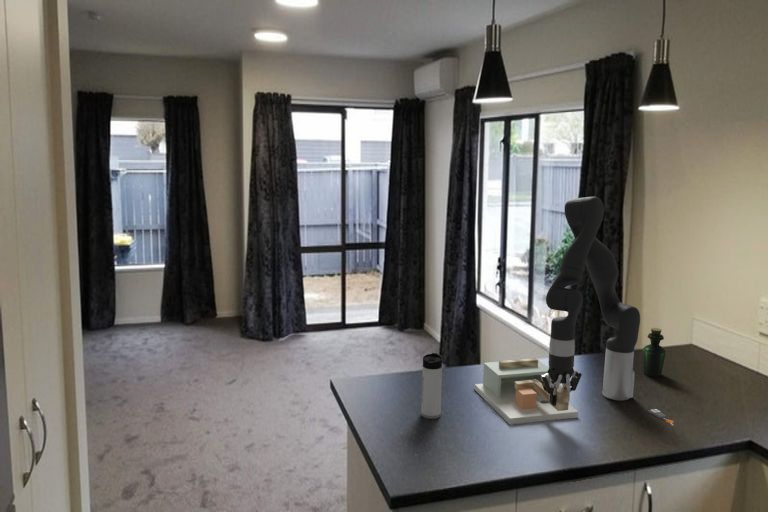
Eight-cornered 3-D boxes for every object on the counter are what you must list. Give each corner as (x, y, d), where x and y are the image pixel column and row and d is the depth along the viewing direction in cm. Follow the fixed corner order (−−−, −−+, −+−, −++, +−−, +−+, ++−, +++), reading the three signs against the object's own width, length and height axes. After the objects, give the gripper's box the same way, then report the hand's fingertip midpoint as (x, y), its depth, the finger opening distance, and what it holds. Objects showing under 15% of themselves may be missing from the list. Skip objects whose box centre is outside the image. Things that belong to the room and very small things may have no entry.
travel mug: (442, 412, 200) (444, 353, 197) (438, 420, 194) (439, 360, 190) (424, 409, 202) (426, 351, 199) (419, 417, 196) (420, 358, 192)
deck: (535, 384, 225) (536, 358, 224) (578, 417, 198) (580, 388, 196) (474, 389, 219) (475, 362, 218) (509, 424, 192) (511, 394, 190)
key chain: (646, 413, 203) (646, 409, 202) (655, 411, 204) (655, 407, 203) (676, 430, 190) (676, 425, 190) (685, 428, 192) (685, 424, 191)
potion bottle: (642, 376, 235) (646, 331, 231) (639, 369, 242) (643, 325, 239) (665, 378, 232) (669, 333, 229) (662, 371, 240) (666, 327, 237)
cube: (528, 401, 204) (529, 387, 204) (536, 407, 200) (536, 393, 199) (515, 403, 203) (515, 388, 202) (522, 409, 198) (522, 394, 198)
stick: (535, 364, 217) (535, 358, 217) (537, 365, 216) (538, 360, 215) (498, 366, 214) (499, 360, 214) (501, 368, 212) (501, 362, 212)
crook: (537, 385, 207) (538, 368, 205) (568, 409, 189) (569, 391, 188) (514, 387, 205) (515, 370, 203) (542, 413, 187) (543, 394, 185)
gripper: (575, 345, 193) (572, 397, 196) (534, 349, 189) (532, 401, 192) (589, 353, 186) (586, 406, 189) (547, 357, 182) (544, 411, 185)
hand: (559, 403), depth 190 cm, fingers closed on crook, 3 cm apart
